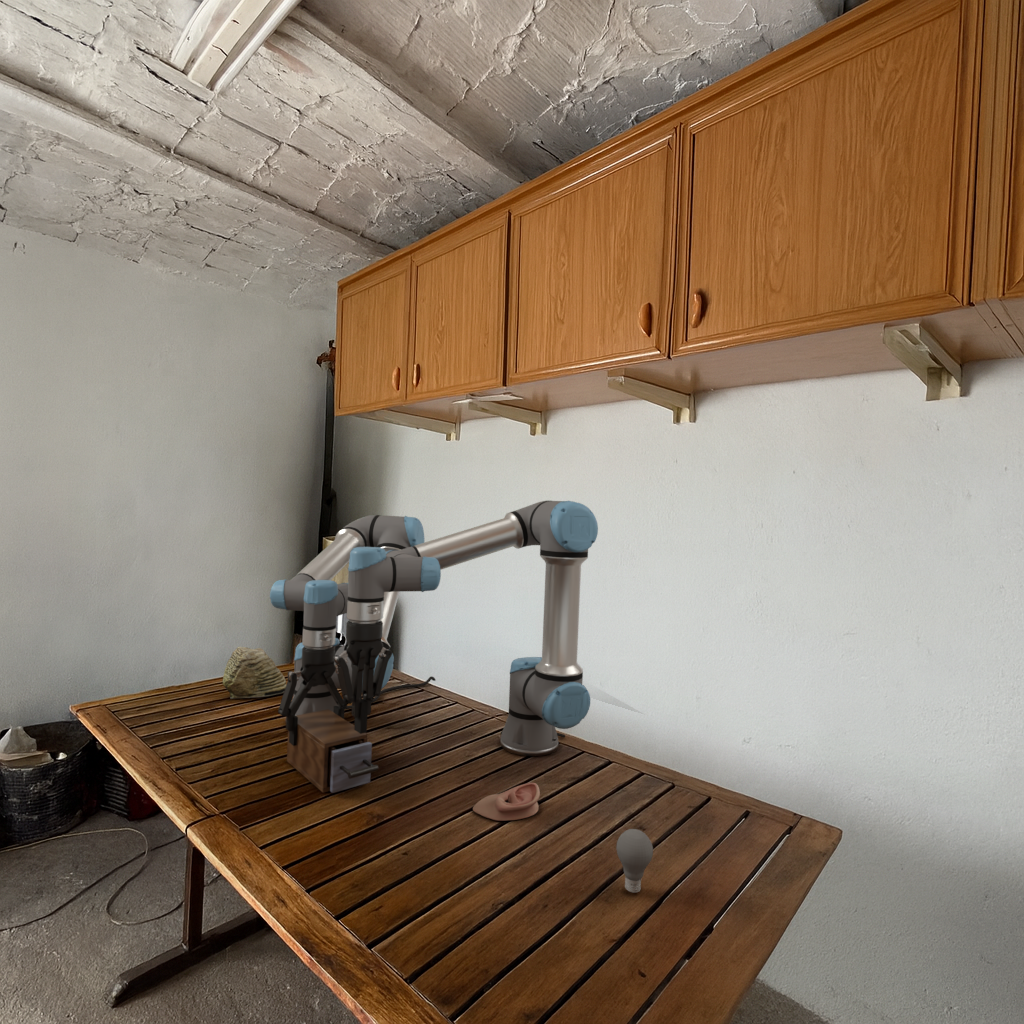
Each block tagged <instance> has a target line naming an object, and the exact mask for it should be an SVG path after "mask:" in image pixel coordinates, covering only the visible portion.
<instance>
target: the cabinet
mask: <svg viewBox="0 0 1024 1024" xmlns="http://www.w3.org/2000/svg"><path fill="white" fill-rule="evenodd" d="M297 717H298V726H297V745H295V746H293V745H292V744H291V743H289V731H288V730H287V746H286V747H287V748H286V749H287V751H286V762H287V763H288V764H289V765H290V766H292V768H294V769H295V770H296V771H297V772H298V773H300V774H301V775H302V776H304V778H305V779H306V780H308V782H310V783H311V784H312V785H314V787H316V788H317V789H318V790H319V791H320V792H321V793H327V792H331V791H330V785H329V784H328V783H327V775H328V750H329V747H330V746H335V745H339V744H343V743H347V742H351V741H356V740H361V741H363V743H366V742H368V732H366V733H361V734H360V733H359V732H357V731H355V730H354V726H355V724H353V723H351V722H349V721H348V720H346V719H345V718H344V719H343V718H342V717H340V716H338V715H337V714H335V713H334V712H332V711H331V710H329V709H327V710H322V711H317V712H312V713H307V714H302V715H297Z"/></svg>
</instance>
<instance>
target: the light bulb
mask: <svg viewBox="0 0 1024 1024" xmlns="http://www.w3.org/2000/svg"><path fill="white" fill-rule="evenodd" d="M615 849H616V854H617V857H618V859H619V861H620V863H621V865H622V867H623V873H624V874H623V875H624V876H625V878H624V888H625V890H627V891H628V892H630V893H634V894H635V893H639V892H640V891H641V889H642V887H641V886H642V879H643V877H644V875H645V871H646V868H647V867H648V866H649V864H650V863H651V861H652V859H653V855H654V847H653V843H652V841H651V838H649V836H648V835H647V834H646V833H645V832H643V831H642V830H641V829H636V828H629V829H627V830H625V831H623V832H622V833H621V834H620V835H619V837H618V839H617V841H616V847H615Z"/></svg>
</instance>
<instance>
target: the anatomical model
mask: <svg viewBox="0 0 1024 1024" xmlns="http://www.w3.org/2000/svg"><path fill="white" fill-rule="evenodd" d="M540 791H541V790H540V787H539V785H538V784H537V783H535V782H527V783H523V784H520V785H517V786H515V787H512V788H510V789H508V790H506V791H503V792H499V793H496V794H490V795H486V796H485V797H483V798H481V799H480V800H478V801H477V802H476V803H475V804H474V805H473V807H472V811H473V812H474V813H475V814H478V815H480V816H482V817H484V818H487V819H490V820H493V821H499V822H504V821H505V822H507V821H516V820H521V819H526V818H529V817H532V816H534V815H536V814H537V813H538V811H539V803H538V801H539V799H540V796H541V792H540Z"/></svg>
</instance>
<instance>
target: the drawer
mask: <svg viewBox="0 0 1024 1024" xmlns="http://www.w3.org/2000/svg"><path fill="white" fill-rule="evenodd" d="M372 750H373V743H372V742H371V741H367V742H366V743H363V741H361V740H356V741H351V742H347V743H343V744H339V745H335V746H330V747H329V750H328V775H327V783H328V784H329V785H330V791H329V792H330V793H332V794H335V793H338V792H341V791H344V790H349V789H352V788H357V787H360V786H363V785H365V784H366V785H367V784H369V783H371V776H372V775H371V774H372V773H375V772H378V771H379V765H378V764H373V763H372V752H373V751H372Z"/></svg>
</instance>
